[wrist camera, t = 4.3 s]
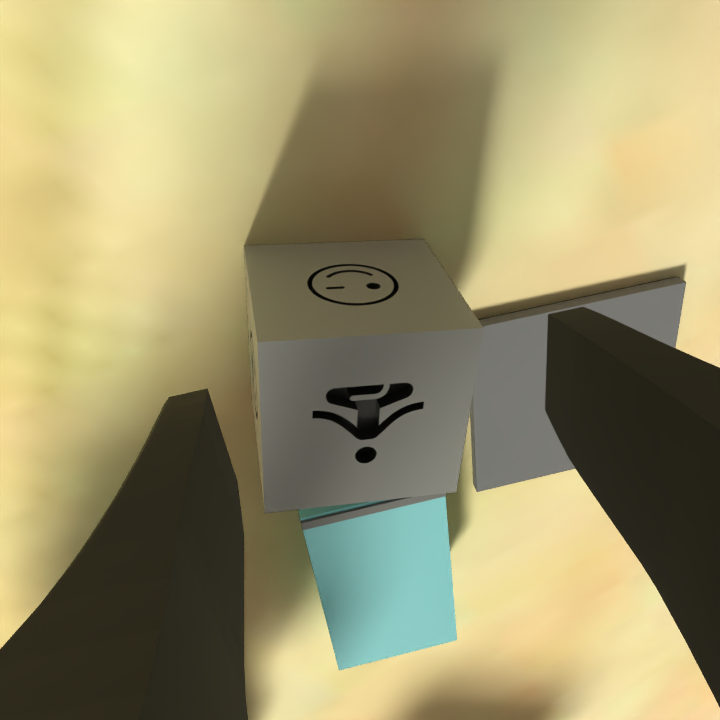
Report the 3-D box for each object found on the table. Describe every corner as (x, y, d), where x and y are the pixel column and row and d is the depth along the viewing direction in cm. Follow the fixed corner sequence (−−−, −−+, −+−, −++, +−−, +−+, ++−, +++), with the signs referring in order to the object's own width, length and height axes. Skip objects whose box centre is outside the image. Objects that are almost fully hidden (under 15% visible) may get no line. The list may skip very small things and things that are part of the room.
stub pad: (652, 441, 26) (658, 448, 25) (473, 484, 25) (476, 491, 25) (678, 276, 22) (686, 282, 21) (466, 322, 21) (470, 329, 21)
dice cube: (423, 237, 19) (483, 328, 15) (408, 383, 22) (456, 491, 18) (243, 244, 18) (257, 342, 14) (251, 395, 21) (264, 513, 17)
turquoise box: (436, 573, 28) (460, 641, 25) (326, 601, 27) (339, 673, 25) (421, 421, 23) (448, 485, 20) (288, 451, 23) (300, 521, 20)
